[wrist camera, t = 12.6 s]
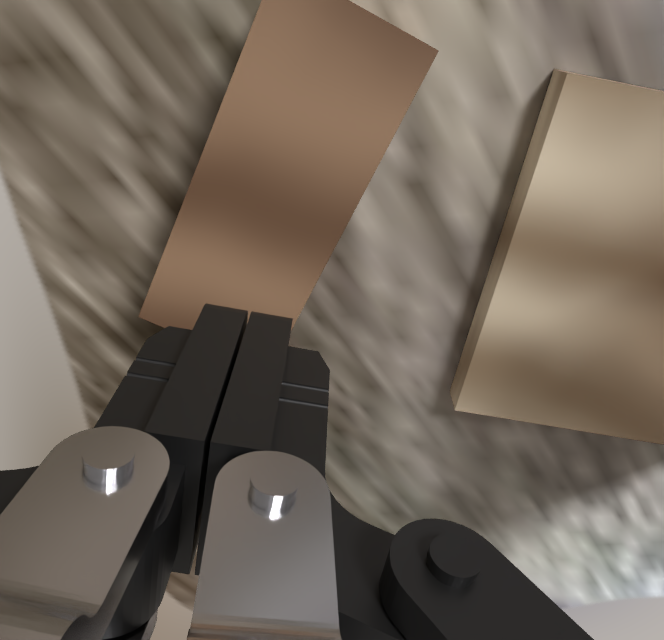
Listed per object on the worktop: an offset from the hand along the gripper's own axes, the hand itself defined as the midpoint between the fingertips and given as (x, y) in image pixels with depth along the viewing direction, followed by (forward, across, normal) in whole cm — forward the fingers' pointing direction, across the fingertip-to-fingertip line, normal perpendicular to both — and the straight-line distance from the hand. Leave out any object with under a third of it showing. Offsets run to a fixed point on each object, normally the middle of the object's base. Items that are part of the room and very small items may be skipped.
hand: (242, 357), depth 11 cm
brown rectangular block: (+15, 0, 0) cm, 15 cm away
